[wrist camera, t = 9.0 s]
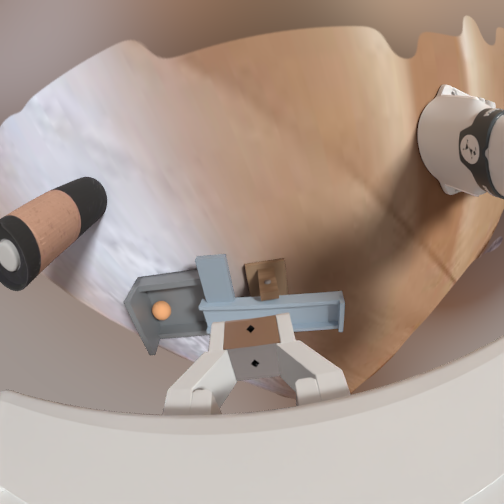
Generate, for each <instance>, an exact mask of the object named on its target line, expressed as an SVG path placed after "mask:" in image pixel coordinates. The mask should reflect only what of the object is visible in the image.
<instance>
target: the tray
mask: <svg viewBox="0 0 504 504" xmlns="http://www.w3.org/2000/svg"><path fill="white" fill-rule="evenodd" d="M202 299H206V298H205V294H204V291H203V287H202V284H201V280H200V277H199V273H198V269H194V270H187V271H180V272H173V273H166V274H158V275H151V276H144V277H138V278H137V280H136V281H135V283H134V285H133V287H132V288H131V290H130V292H129V294H128V296H127V297H126V299H125V301H124V304H125V306H126V308H127V310H128V313H129V315H130V317H131V319H132V321H133V323H134V325H135V327H136V329H137V331H138V333H139V335H140V337H141V339H142V341H143V343H144V345H145V347H146V349H147V351H148V353H149V355H155V354H156V351H157V347H158V344H159V341H160V339H164V338H178V337H191V336H202V335H210V334H207V331H206V330H207V327H208V325H207V322H206V319H205V316H204V313H203V310H199V305H200V303H201V300H202ZM158 301H165V302H167V303H168V304H169V305H170V307H171V314H170V316H169V317H168V318H167V319H165V320H158V319H156V318H155V317H154V315H153V313H152V307H153V305H154V304H155V303H156V302H158Z"/></svg>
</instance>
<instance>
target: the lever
mask: <svg viewBox="0 0 504 504" xmlns="http://www.w3.org/2000/svg"><path fill="white" fill-rule="evenodd" d="M195 262H196V266H197V269H198V273H199V277H200V280H201V284H202V287H203V291H204V294H205V298H206V299H202V300H201V303H200V305H199V310H203V313H204V316H205V319H206V322H207V325H208V327H207V330H206V331H207V334H210V332H211V325H212V323H213V322H222V321H231V320H241V319H251V318H258V317H265V316H271V315H276V314H282V313H287V312H288V313H289V314H290V318H291V322H292V327H293V331H294V332H298V331H313V330H326V329H338V330H339V332H343V325H344V310H345V301H344V297H343V293H342V291H333V292H321V293H308V294H293V295H279V298H278V299H271V300H265V301H261V296H259V297H238V298H235V295H234V290H233V286H232V281H231V276H230V272H229V267H228V262H227V258H226V254H220V255H207V256H197V257H196V259H195Z"/></svg>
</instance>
